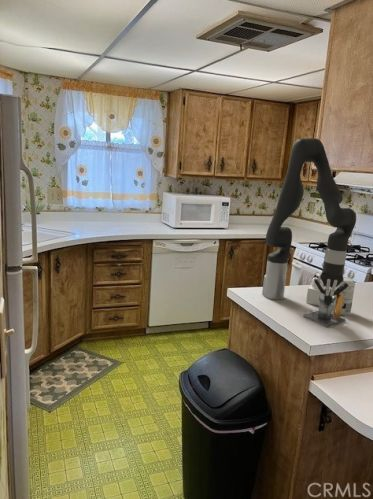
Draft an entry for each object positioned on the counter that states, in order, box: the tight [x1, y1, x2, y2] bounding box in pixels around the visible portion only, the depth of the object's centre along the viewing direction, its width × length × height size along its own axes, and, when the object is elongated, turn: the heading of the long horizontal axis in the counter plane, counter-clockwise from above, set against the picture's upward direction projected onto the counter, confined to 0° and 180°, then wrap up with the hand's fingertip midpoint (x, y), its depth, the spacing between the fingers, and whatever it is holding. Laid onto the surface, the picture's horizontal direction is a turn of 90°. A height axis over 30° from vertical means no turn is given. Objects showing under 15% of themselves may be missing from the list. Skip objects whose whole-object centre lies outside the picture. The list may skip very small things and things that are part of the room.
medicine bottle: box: [306, 276, 325, 307], centre depth 186 cm, size 7×7×12 cm
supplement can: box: [332, 276, 356, 316], centre depth 175 cm, size 8×8×15 cm
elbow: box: [319, 289, 344, 319], centre depth 162 cm, size 14×6×9 cm, turn 9°
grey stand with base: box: [302, 301, 347, 328], centre depth 166 cm, size 12×12×8 cm
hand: (327, 304), depth 156 cm, fingers closed
